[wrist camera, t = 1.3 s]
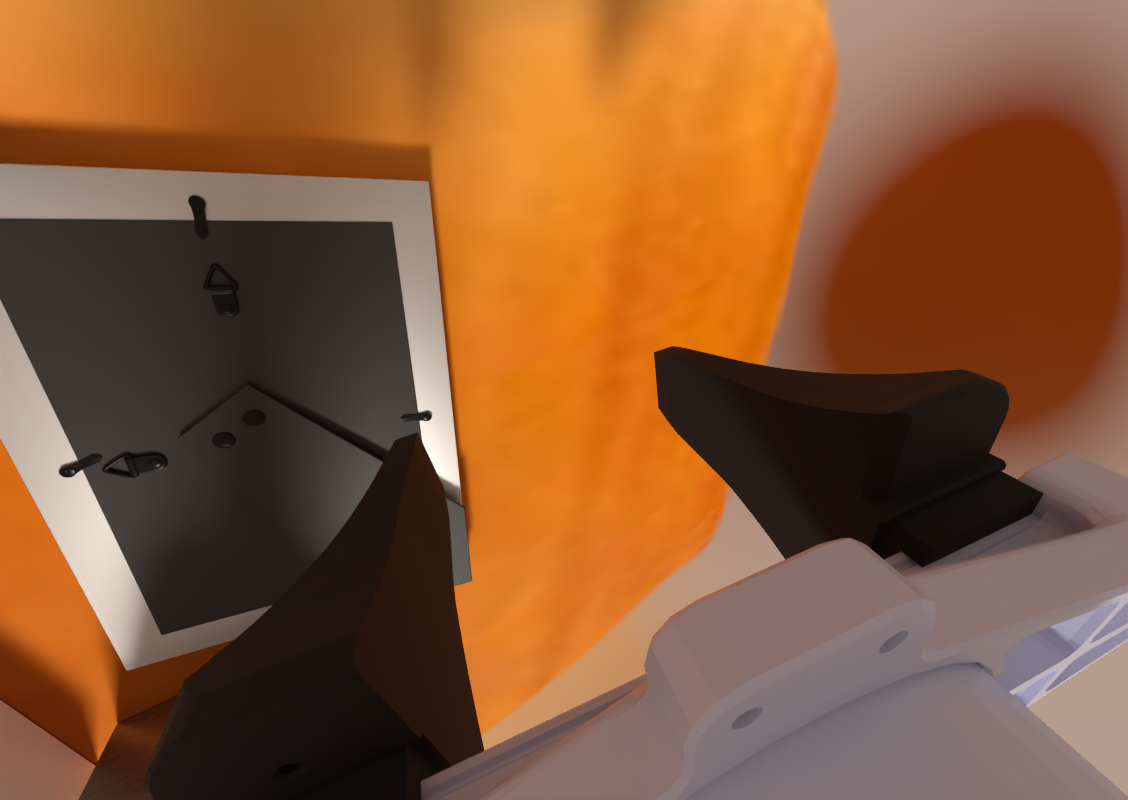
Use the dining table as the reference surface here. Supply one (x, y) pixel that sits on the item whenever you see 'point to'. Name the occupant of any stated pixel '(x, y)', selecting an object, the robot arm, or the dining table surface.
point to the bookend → (128, 757)
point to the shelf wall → (37, 762)
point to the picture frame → (213, 380)
